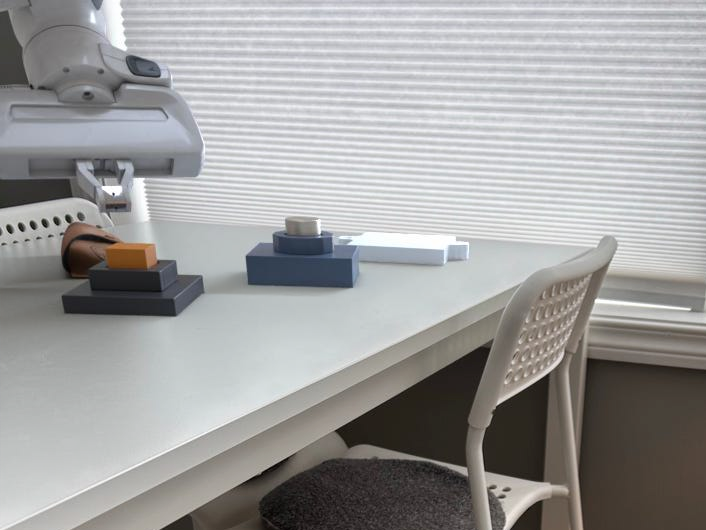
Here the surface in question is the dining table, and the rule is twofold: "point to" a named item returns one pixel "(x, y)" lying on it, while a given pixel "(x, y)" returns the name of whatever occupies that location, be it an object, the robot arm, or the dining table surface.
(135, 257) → the orange square flat block
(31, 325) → the dining table surface
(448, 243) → the mounting plate
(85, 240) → the sunglasses case
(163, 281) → the key block
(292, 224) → the silver short cylinder
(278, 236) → the key block
